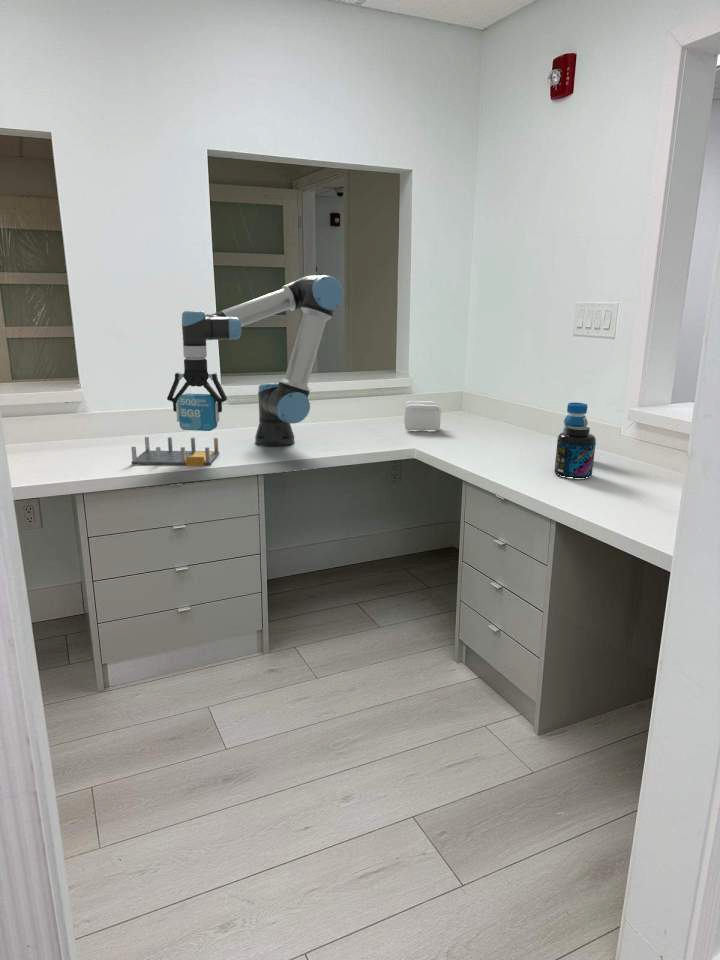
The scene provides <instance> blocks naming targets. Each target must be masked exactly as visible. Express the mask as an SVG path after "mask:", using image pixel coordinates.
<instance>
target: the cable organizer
mask: <svg viewBox="0 0 720 960" xmlns="http://www.w3.org/2000/svg"><path fill="white" fill-rule="evenodd" d="M441 415H442V409H441V407H440V406H439V405H438V403H437V402H436V401H430V400H428V401H427V400H426V401H423V400H408V401H406V402H405V403H404V418H403V423H404V429H405V430H407V431H409V430H438V431H439V430H440V428H441Z"/></svg>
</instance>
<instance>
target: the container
mask: <svg viewBox="0 0 720 960" xmlns="http://www.w3.org/2000/svg"><path fill="white" fill-rule="evenodd" d="M590 431H591V427H588V426H579V425H569V426H566V432H563V431H561V433H559V434H558V436H557V442H556V452H555V453H556V454H555V461H554V473H555V474H556V475H557V474H559V475H561V476H565V477H573V478H586V477H589V476H591V477H592V475H593V469H594V461H595V453H596V452H595V451H596V444H597V443H596V442H597V439H596V437H595V435H593V434H592V433H590ZM589 478H590V477H589Z"/></svg>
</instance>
